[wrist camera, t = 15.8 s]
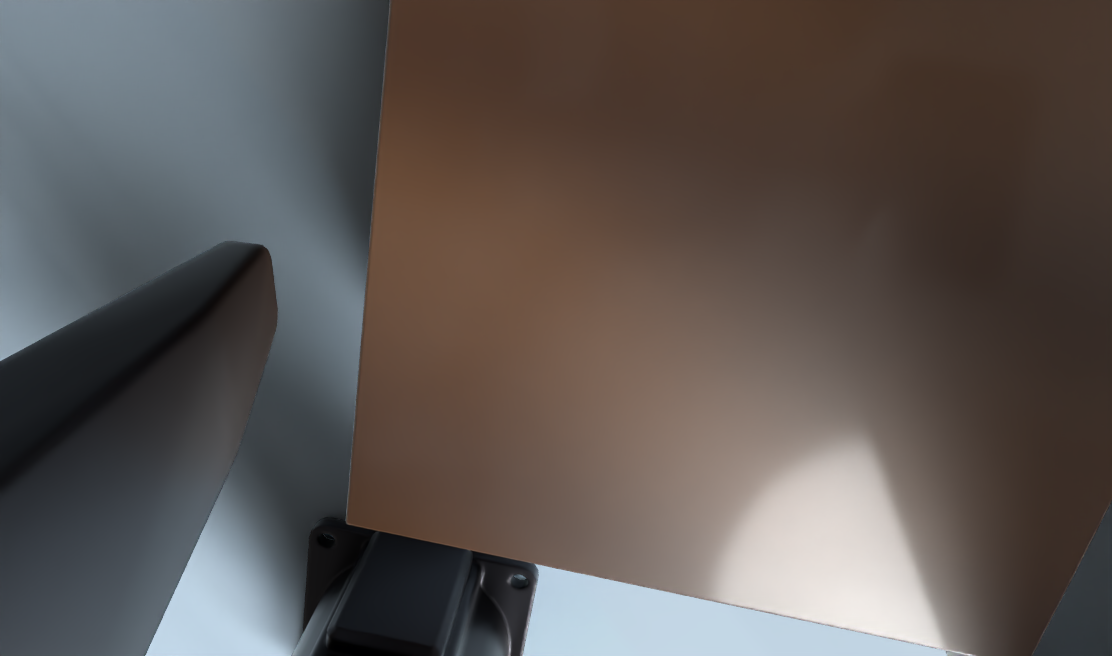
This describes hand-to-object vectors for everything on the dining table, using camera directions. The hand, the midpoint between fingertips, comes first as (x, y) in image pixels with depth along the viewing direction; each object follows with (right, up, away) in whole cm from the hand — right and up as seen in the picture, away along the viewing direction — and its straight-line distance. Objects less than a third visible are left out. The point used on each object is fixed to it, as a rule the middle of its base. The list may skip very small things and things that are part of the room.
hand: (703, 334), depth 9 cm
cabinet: (+3, +5, +11) cm, 12 cm away
